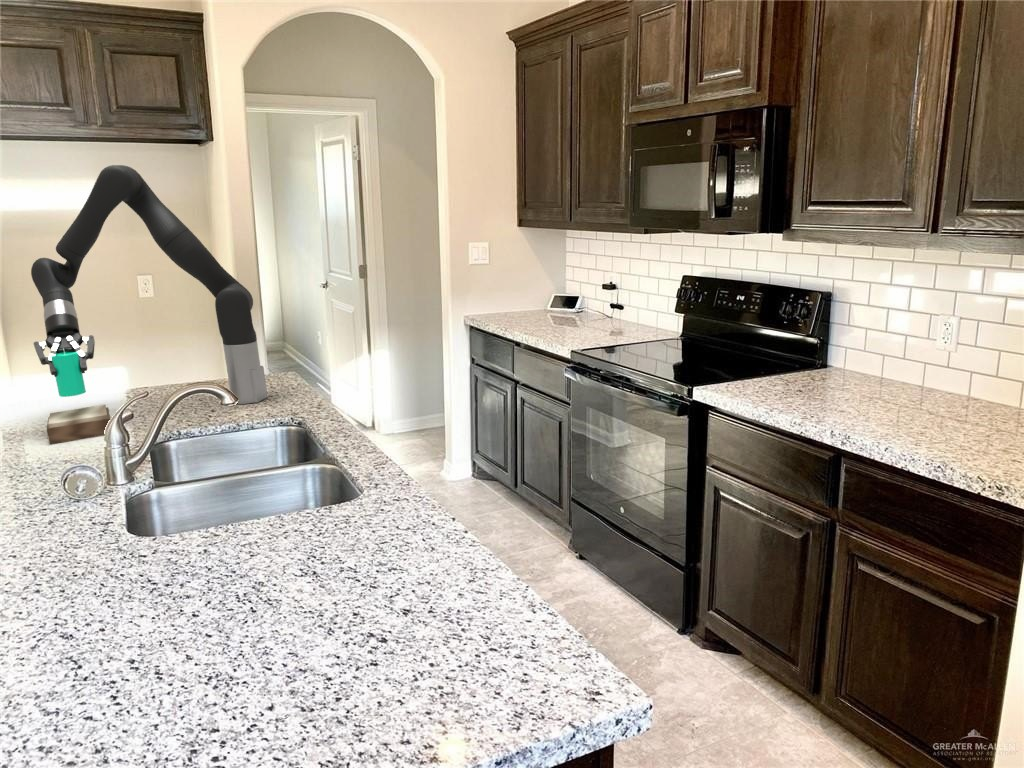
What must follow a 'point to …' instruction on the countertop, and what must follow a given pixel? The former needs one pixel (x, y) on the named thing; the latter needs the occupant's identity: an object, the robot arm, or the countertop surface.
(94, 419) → the plinth
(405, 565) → the countertop surface
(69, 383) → the candle
